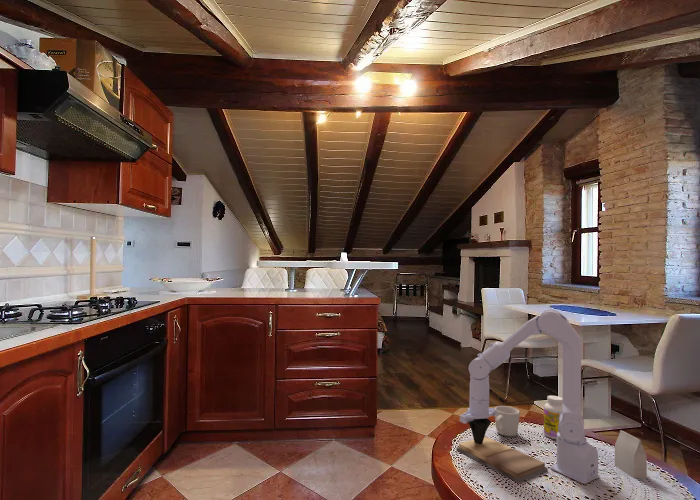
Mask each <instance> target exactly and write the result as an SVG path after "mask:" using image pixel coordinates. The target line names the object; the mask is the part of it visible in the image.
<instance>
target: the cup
mask: <svg viewBox="0 0 700 500" xmlns="http://www.w3.org/2000/svg"><path fill="white" fill-rule="evenodd" d="M494 409H496V410H497V416H494V420H495V428H496V431H497V432H498V434H500V435H502V436H504V437H516V436H517V434H518V431H519V425H520V414H521V412H520V410H519V409H518V408H516V407H513V406H508V405H507V406H506V405H497V406H494Z"/></svg>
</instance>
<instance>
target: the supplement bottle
mask: <svg viewBox="0 0 700 500" xmlns="http://www.w3.org/2000/svg"><path fill="white" fill-rule="evenodd" d="M546 400H547V403H545V404H544V406H543V434H544V436H546V437H547V438H549V439H551V440H556V441H557V433H558V432H559V430H558V425H559V415H560V413H561V412H562V407H563V397H562V396H558V395H547V398H546Z"/></svg>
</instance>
